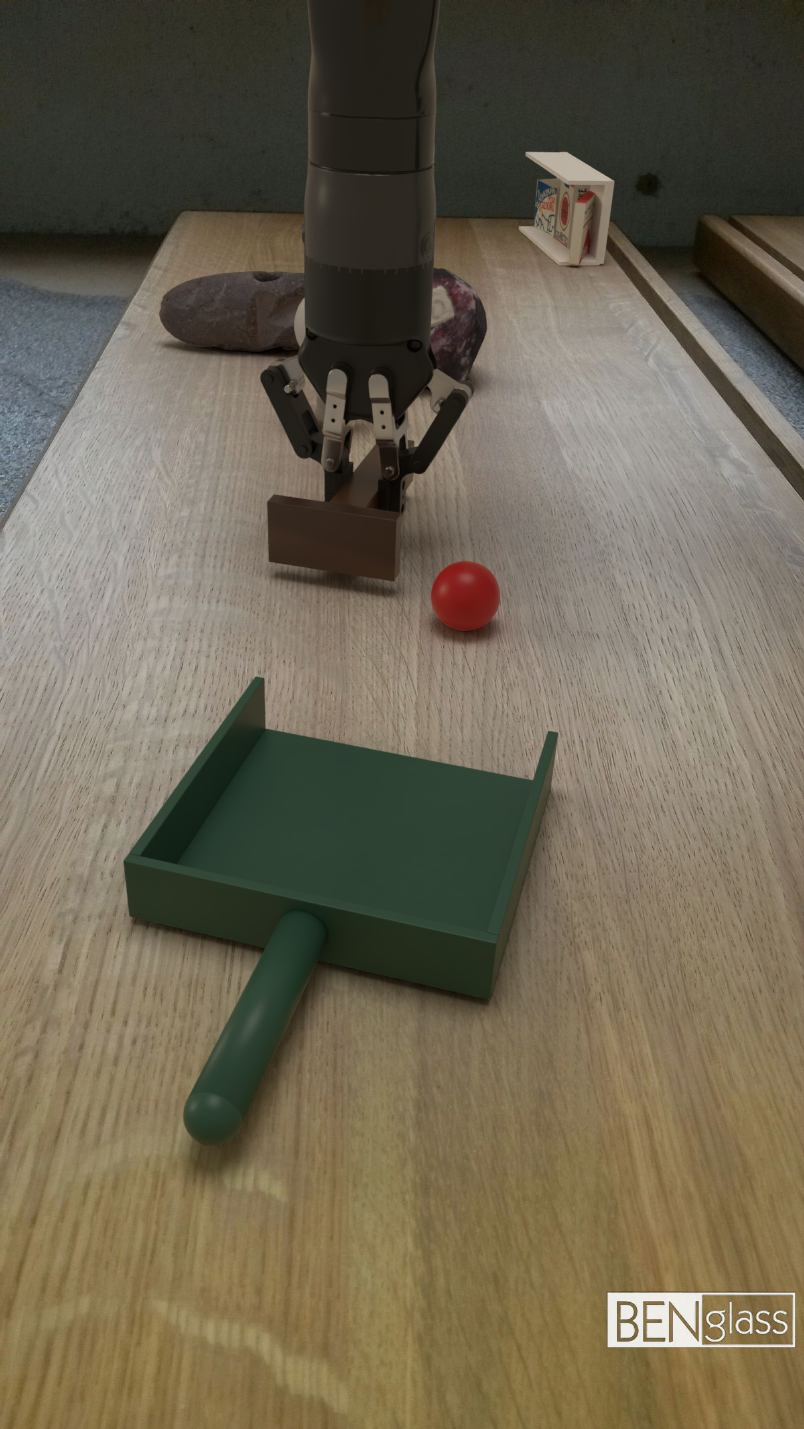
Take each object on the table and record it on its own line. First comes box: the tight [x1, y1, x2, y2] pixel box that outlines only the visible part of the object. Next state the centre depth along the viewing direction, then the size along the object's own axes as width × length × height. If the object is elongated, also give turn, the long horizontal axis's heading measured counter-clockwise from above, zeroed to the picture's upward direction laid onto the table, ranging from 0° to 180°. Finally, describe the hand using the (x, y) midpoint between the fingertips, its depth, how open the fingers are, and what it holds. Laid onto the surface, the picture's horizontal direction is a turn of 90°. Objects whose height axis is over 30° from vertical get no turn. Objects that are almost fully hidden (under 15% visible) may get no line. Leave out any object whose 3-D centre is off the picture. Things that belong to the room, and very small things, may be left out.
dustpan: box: [123, 676, 559, 1147], centre depth 49 cm, size 24×15×3 cm, turn 165°
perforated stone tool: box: [158, 270, 305, 353], centre depth 111 cm, size 15×5×7 cm, turn 88°
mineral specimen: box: [425, 267, 488, 388], centre depth 105 cm, size 10×10×10 cm
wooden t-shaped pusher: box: [266, 439, 416, 582], centre depth 79 cm, size 15×8×4 cm, turn 165°
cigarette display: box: [518, 151, 615, 267], centre depth 149 cm, size 20×6×9 cm, turn 10°
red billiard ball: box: [430, 560, 501, 632], centre depth 70 cm, size 4×4×4 cm
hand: (364, 522), depth 80 cm, fingers closed on wooden t-shaped pusher, 2 cm apart
